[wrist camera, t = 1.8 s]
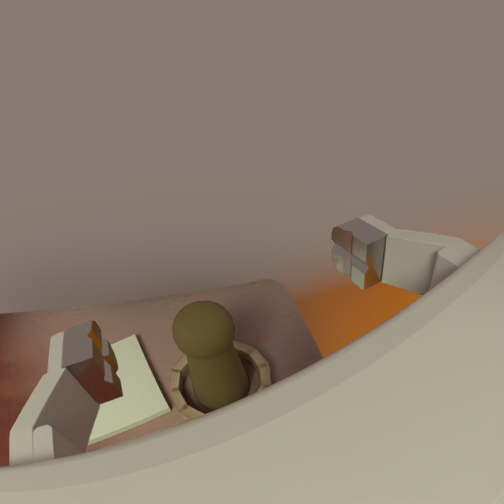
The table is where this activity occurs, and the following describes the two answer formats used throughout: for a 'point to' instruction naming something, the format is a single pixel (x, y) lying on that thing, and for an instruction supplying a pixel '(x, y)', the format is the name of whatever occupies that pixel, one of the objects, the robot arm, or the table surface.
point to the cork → (211, 354)
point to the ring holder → (183, 369)
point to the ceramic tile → (130, 394)
